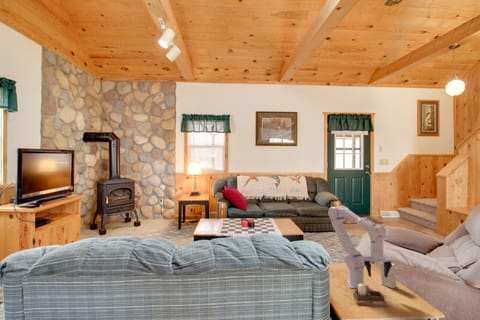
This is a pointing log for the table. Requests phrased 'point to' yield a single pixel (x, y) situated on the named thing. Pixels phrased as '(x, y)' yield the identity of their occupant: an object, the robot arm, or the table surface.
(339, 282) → the table surface
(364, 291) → the plug
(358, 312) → the table surface
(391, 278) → the skincare box
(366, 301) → the socket board
